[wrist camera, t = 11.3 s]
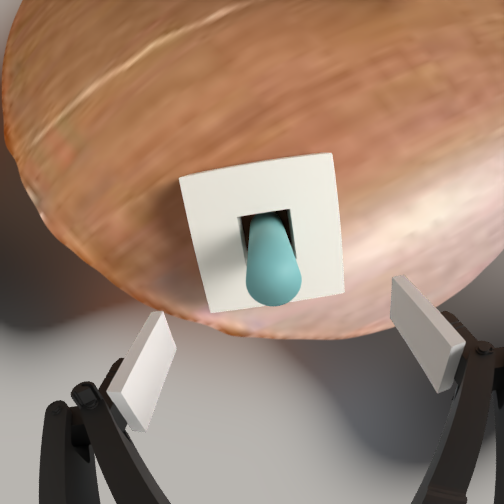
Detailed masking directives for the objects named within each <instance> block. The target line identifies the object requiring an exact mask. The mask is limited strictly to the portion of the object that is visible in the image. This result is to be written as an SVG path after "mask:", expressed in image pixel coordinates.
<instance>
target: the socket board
mask: <svg viewBox="0 0 504 504" xmlns="http://www.w3.org/2000/svg"><path fill="white" fill-rule="evenodd" d="M179 181H180V186H181V191H182V196H183V201H184V205H185V210H186V214H187V219H188V223H189V228H190V232H191V237H192V241H193V245H194V249H195V254H196V258H197V262H198V266H199V270H200V274H201V278H202V282H203V286H204V290H205V294H206V297H207V301H208V305H209V309H210V312H211V313H215V312H223V311H231V310H239V309H246V308H254V307H261V306H266V305H263V304H260V303H258V302H257V301H255V300H254V299H253V298H252V297H251V296H250V294H249V293H248V290H247V287H246V270H247V258H248V252H247V247H246V242H245V236H244V231H243V225H242V220H241V216H246V215H252V214H258V213H265V212H271V211H277V210H284V209H287V215H288V222H289V229H290V236H291V244H292V245H291V248H292V250H293V253H294V256H295V259H296V261H297V264H298V267H299V270H300V273H301V277H302V283H301V287H300V290H299V292H298V294H297V295H296V296H295V297H294V298H293V299H292V300H291V301H289V302H294V301H300V300H306V299H312V298H318V297H324V296H330V295H335V294H341V293H345V292H344V270H343V253H342V239H341V227H340V216H339V206H338V196H337V187H336V179H335V171H334V164H333V156H332V153H315V154H307V155H299V156H291V157H284V158H277V159H271V160H264V161H258V162H252V163H246V164H240V165H234V166H229V167H223V168H218V169H213V170H208V171H203V172H198V173H193V174H189V175H186V176H183V177H180V178H179Z"/></svg>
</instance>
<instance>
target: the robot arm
mask: <svg viewBox="0 0 504 504" xmlns="http://www.w3.org/2000/svg"><path fill="white" fill-rule="evenodd" d="M390 319H391V320H392V322H393V323H394V325H395V326H396V328H397V329H398V331H399V332H400V334H401V335H402V337H403V338H404V340H405V341H406V343H407V345H408V346H409V348H410V349H411V351H412V352H413V354H414V356H415V357H416V359H417V360H418V362H419V363H420V365H421V367H422V368H423V370H424V372H425V373H426V375H427V377H428V378H429V380H430V382H431V383H432V385H433V387H434V388H435V390H436V392H437V393H440V392H442V391H445V390H447V389H450V388H451V386H452V384H453V381H454V379H455V381H456V382H457V384H458V385H457V388H456V391H455V393H454V396H453V398H452V400H453V402H452V405H451V409H450V412H449V415H448V418H447V421H446V424H445V427H444V430H443V433H442V436H441V438H440V441H439V444H438V446H437V449H436V451H435V454H434V456H433V459H432V461H431V463H430V466H429V468H428V470H427V472H426V475H425V477H424V479H423V481H422V483H421V485H420V487H419V489H418V491H417V493H416V495H415V497H414V499H413V501H412V502H411V504H466V503H467V497H466V492H467V489H468V486H469V483H470V480H471V478H472V475H473V472H474V468H475V465H476V461H477V458H478V455H479V451H480V447H481V444H482V440H483V435H484V431H485V426H486V422H487V417H488V412H489V406H490V400H491V393H492V396H493V405H494V415H495V429H496V483H495V497H494V504H504V347H500V348H494V346H493V345H492V344H490V343H489V342H486V341H477V339H476V338H475V337H474V336H473V335H472V334H471V333H470V332H469V331H468V330H467V328H466V327H464V326H463V324H462V323H461V322H459V320H458V319H457V318H456V317H455V316H454V315H453V314H451V313H449V312H447V311H443V312H439V311H438V310H437V309H436V308H435V307H434V305H433V304H432V303H431V302H430V301H429V300H428V299H427V298H426V297H425V296H424V295H423V294H422V293H421V292H420V291H419V290H418V289H417V288H416V287H415V286H414V285H413V284H412V283H411V282H410V281H409V280H408V279H407V278H406V277H405V276H404V275H400V276H395V277H392V292H391V309H390ZM176 349H177V348H176V345H175V343H174V340H173V337H172V335H171V332H170V329H169V326H168V324H167V321H166V318H165V315H164V312H163V311H157V312H151V313H150V315H149V317H148V318H147V320H146V322H145V324H144V326H143V327H142V329H141V331H140V332H139V334H138V336H137V337H136V339H135V341H134V343H133V344H132V346H131V348H130V349H129V351H128V353H127V355H126V357H125V358H119V360H117V361H116V362H115V363H114V364H113V365H112V367H111V369H110V370H109V372H108V374H107V375H106V378H105V379H104V381H103V383H102V384H101V386H100V388H99V390H98V389H97V388H96V386H95V384H94V383H92V382H89V381H88V382H82V383H80V384H78V385H76V386H75V387H74V388H73V390H72V392H71V397H72V399H73V400H74V402H75V403H76V404H77V406H75V407H68V406H67V404H66V403H65V402H64V401H61V400H60V401H55V402H53V403H51V404H50V405H49V406H48V407H47V409H46V412H45V418H44V426H43V435H42V445H41V456H40V473H39V504H100V498H99V492H98V485H97V476H96V467H95V456H96V458H97V461H98V463H99V466H100V468H101V470H102V473H103V475H104V478H105V480H106V482H107V484H108V486H109V489H110V491H111V493H112V495H113V497H114V499H115V501H116V503H117V504H171V503H170V502H169V500H168V499H167V497H166V496H165V495H164V493H163V492H162V490H161V489H160V487H159V486H158V484H157V483H156V481H155V480H154V478H153V476H152V475H151V473H150V472H149V470H148V468H147V467H146V465H145V463H144V462H143V460H142V458H141V457H140V455H139V453H138V452H137V449H136V448H135V446H134V444H133V442H132V440H131V439H130V437H129V435H128V433H127V432H126V430H125V427H126V425H127V424H128V425H129V427H130V428H131V429H132V431H139V432H147V430H148V427H149V424H150V421H151V418H152V415H153V412H154V409H155V407H156V404H157V401H158V398H159V395H160V393H161V390H162V387H163V384H164V381H165V379H166V376H167V373H168V370H169V368H170V365H171V362H172V359H173V357H174V354H175V352H176ZM94 453H95V456H94Z"/></svg>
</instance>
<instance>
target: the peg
mask: <svg viewBox="0 0 504 504" xmlns="http://www.w3.org/2000/svg"><path fill="white" fill-rule="evenodd" d="M301 283H302V277H301V273H300V270H299V267H298V264H297V261H296V259H295V256H294V253H293V250H292V248H291V245H290V242H289V239H288V237H287V234H286V231H285V228H284V226H283V223H282V220H281V218H280V217H279V216H278V215H277V214H276V213H274V212H272V211H271V212H265V213H258V214H256V215H255V216H254V217H253V218H252V220H251V223H250V233H249V245H248V258H247V270H246V287H247V290H248V293H249V294H250V296H251V297H252V298H253V299H254V300H255V301H257V302H258V303H260V304H263V305H266V306H280V305H283V304H286V303H288V302H289V301H291V300H292V299H293V298H294V297H295V296H296V295H297V294H298V292H299V290H300V287H301Z"/></svg>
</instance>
